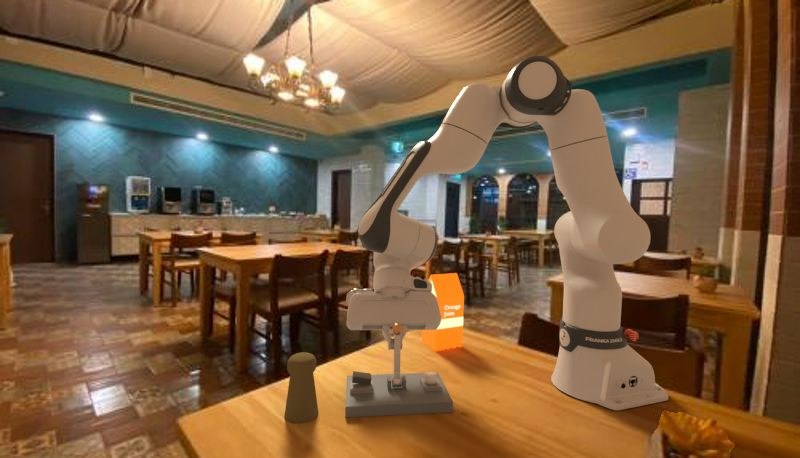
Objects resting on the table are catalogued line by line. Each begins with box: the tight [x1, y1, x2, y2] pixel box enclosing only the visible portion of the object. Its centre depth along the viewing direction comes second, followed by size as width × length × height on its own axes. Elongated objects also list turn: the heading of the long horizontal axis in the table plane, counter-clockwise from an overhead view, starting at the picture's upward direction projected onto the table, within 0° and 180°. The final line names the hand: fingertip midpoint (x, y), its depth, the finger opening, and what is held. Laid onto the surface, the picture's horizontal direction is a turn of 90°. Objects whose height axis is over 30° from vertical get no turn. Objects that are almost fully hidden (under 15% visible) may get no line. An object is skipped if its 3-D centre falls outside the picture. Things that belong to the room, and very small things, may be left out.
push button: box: [424, 371, 437, 384], centre depth 73 cm, size 3×3×1 cm
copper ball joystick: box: [390, 323, 403, 387], centre depth 72 cm, size 2×2×13 cm
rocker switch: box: [351, 370, 372, 385], centre depth 72 cm, size 4×2×1 cm, turn 97°
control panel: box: [344, 372, 454, 418], centre depth 73 cm, size 20×12×4 cm, turn 97°
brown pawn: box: [284, 351, 319, 424], centre depth 66 cm, size 6×6×11 cm
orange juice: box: [421, 272, 465, 352], centre depth 101 cm, size 8×9×20 cm
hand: (395, 348), depth 74 cm, fingers closed, pressing on copper ball joystick
